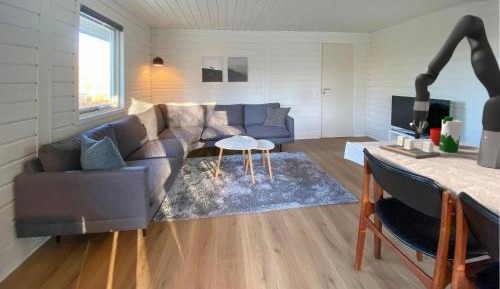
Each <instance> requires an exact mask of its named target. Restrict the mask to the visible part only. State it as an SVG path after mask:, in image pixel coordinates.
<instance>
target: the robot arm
mask: <svg viewBox="0 0 500 289" xmlns="http://www.w3.org/2000/svg"><path fill="white" fill-rule="evenodd" d="M464 38H466V40H467V42H468V44H469V47H470V65H471V67H472V71H473V73H474V76H475V77H476V78H477V80H478V81H479V82H480V83H481V85H482V86H483V87H484V88H485V90H486V92H487V95H488V99H487V100H486V101H485V103H484V105H483V110H482V116H481V125H482V130H481V136H480V142H479V147H478V148H479V149H478V153H477V160H476V164H477V166H481V167H485V168H486V167H487V168H492V169H498V168H499V169H500V66H499V64H498V60H497V57H496V56H495V55H496V54H494V52H493V48H492V46H491V44H490V42H489V40H488V36H487V32H486V28H485V23H484V20H483V18H481V17H480V16H476V15H472V14H467V15H463V16H461V17H460V18H459V19H458V21H457V22H456V23H455V25H454V27H453V29H452V30H451V31H450V34H449V36H448V37H447V38H446V40H445V42H444V44H443V45H442V47H440V49H439V51H438V52H437V53H436V55H435V56H434V57H433V58H432V59H431V61H430V62H429V63H428V65H427V68H428V69H427V71H426V72H425V73H420V74H418V75H417V76H416V78H415V82H414V88H415V99H414V104H413V109H412V111H413V112H412V118H413V120H412V122H411V123H409V124H408V126H409V127H410V129H411V131H412V132H414V140H420V139H421V133H423V132H425V131H426V129H427V127H428V126H429V122H427V118H428V115H429V108H430V98H431V92H430V91H429V90H428V88H429V86H431V85H433V84H434V83H435V81H437V79H438V77H439V76H440V73H441V71H442V70H443V69H444V68H445V67H446V66H447V65H448V63H449V62H450V60H451V58H452V57H453V54H454V52H455V50H456V49H457V47H458V45H459V44H460V43H461V42H462V40H464Z"/></svg>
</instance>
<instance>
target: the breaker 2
mask: <svg viewBox="0 0 500 289" xmlns="http://www.w3.org/2000/svg"><path fill="white" fill-rule="evenodd" d="M422 144H423V145H422V149H423V150H422V151H424V152H428V153H431V152H434V146H435V145H434V142H432V141H431V140H430V141H429V140H425V141H423V142H422Z"/></svg>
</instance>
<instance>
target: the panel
mask: <svg viewBox="0 0 500 289" xmlns="http://www.w3.org/2000/svg"><path fill="white" fill-rule="evenodd" d="M396 144H397V143H395V144H386V145H379V149H380V148H382V149H381V150H384V151H387V152H390V153H391V152H392V153H395V154H399V155H401V156H405V157H409V158H412V159H416V160H417V159H423V158H432V157H440V156H441V154H442V153H441V152H439V151H434V150H433V151H434V152H431V153H428V152H424V151H422V150H423V147H419V146H414V149H412V150H408V149H404V148H403V147H404V146H400V145H396Z"/></svg>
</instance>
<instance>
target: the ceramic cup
mask: <svg viewBox="0 0 500 289" xmlns="http://www.w3.org/2000/svg"><path fill="white" fill-rule="evenodd" d="M441 130H442V127H439V128H438V127H434V128H430V136H429V137H430V141H431V142H434V146H436V147H439V145H440V138H441Z"/></svg>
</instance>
